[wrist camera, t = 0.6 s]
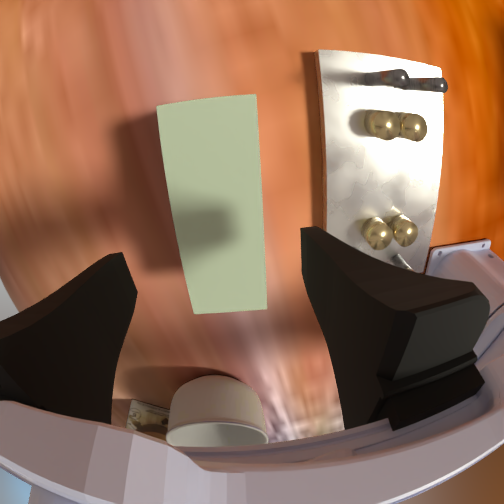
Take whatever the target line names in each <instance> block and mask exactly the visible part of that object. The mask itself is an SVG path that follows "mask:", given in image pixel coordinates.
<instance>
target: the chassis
mask: <svg viewBox="0 0 504 504" xmlns="http://www.w3.org/2000/svg"><path fill="white" fill-rule="evenodd" d="M314 56H315V65H316V74H317V85H318V97H319V110H320V125H321V144H322V172H323V230H324V231H326V232H328V233H329V234H331V235H333V236H334V237H336V238H338V239H339V240H341V241H343V242H345V243H346V244H348V245H350V246H352V247H354V248H355V249H357V250H359V251H361V252H363V253H365V254H367V255H369V256H372V257H374V258H376V259H379V260H381V261H384V262H386V263H389V264H391V265H394V266H397V267H400V268H403V269H407V270H410V271H413V272H417V273H421V272H423V271H424V267H425V263H426V259H427V254H428V250H429V245H430V240H431V235H432V230H433V224H434V219H435V213H436V206H437V199H438V191H439V183H440V173H441V161H442V144H443V93H445V92H446V91H447V89H448V85H447V82H446V80H445V79H444V78H442V76H441V68H438V67H434V66H430V65H426V64H422V63H418V62H414V61H409V60H404V59H399V58H393V57H388V56H381V55H374V54H367V53H358V52H348V51H336V50H317V51H315V52H314Z"/></svg>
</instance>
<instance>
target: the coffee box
mask: <svg viewBox="0 0 504 504" xmlns="http://www.w3.org/2000/svg"><path fill="white" fill-rule="evenodd" d="M169 413H170V410H167V409H164V408H160V407H156V406H153V405H150V404H146V403H143V402H140V401H137V400H134V399H132V401H131V405H130V410H129V414H128V418H127V423H126V427H125V428H127V429H131V430H135V431H138V432H141V433H143V434H146V435H149V436H152V437H155V438H158V439H161V440H164V441H166V433H167V431H168V421H169ZM166 442H167V441H166Z"/></svg>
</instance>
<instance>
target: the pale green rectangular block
mask: <svg viewBox="0 0 504 504" xmlns="http://www.w3.org/2000/svg"><path fill="white" fill-rule="evenodd" d="M156 108H157V117H158V125H159V134H160V141H161V149H162V156H163V163H164V169H165V176H166V182H167V188H168V194H169V200H170V206H171V211H172V216H173V222H174V227H175V232H176V237H177V242H178V247H179V252H180V256H181V261H182V266H183V270H184V274H185V279H186V283H187V287H188V292H189V296H190V300H191V304H192V308H193V312H194V314H206V313H223V312H237V311H250V310H263V309H267V291H266V267H265V245H264V224H263V204H262V184H261V166H260V149H259V132H258V115H257V100H256V94H250V95H235V96H223V97H214V98H205V99H197V100H190V101H183V102H177V103H171V104H165V105H160V106H156Z"/></svg>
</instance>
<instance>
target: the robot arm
mask: <svg viewBox="0 0 504 504" xmlns="http://www.w3.org/2000/svg"><path fill="white" fill-rule="evenodd" d="M300 230H301V259H302V275H303V279H304V283H305V287H306V291H307V294H308V297H309V299H310V302H311V304H312V307H313V309H314V312H315V314H316V317H317V319H318V322H319V324H320V327H321V329H322V332H323V334H324V337H325V340H326V343H327V346H328V350H329V354H330V358H331V362H332V366H333V370H334V374H335V379H336V383H337V388H338V393H339V398H340V404H341V409H342V415H343V421H344V428H345V430H343V431H339V432H334V433H330V434H325V435H320V436H315V437H309V438H304V439H297V440H291V441H284V442H276V443H267V444H257V445H244V446H223V447H185V446H172V445H171V444H169V443H167V442H166V441H164V440H161V439H158V438H155V437H152V436H149V435H146V434H143V433H141V432H138V431H135V430H131V429H127V428H122V427H118V426H114V425H111V409H112V395H113V385H114V378H115V372H116V366H117V362H118V358H119V354H120V351H121V348H122V345H123V342H124V339H125V336H126V333H127V330H128V327H129V324H130V321H131V319H132V316H133V313H134V308H135V304H136V298H137V293H138V292H137V289H136V287H135V284H134V282H133V279H132V277H131V274H130V271H129V269H128V266H127V264H126V261H125V258H124V255H123V253H122V252H120V253H113V254H109V255H107V256H105V257H103V258H102V259H100V260H98V261H97V262H95V263H94V264H93V265H91V266H90V267H88V268H87V269H86V270H84V271H83V272H82V273H80V274H79V275H78V276H76V277H75V278H73V279H72V280H71V281H69V282H68V283H66V284H65V285H64V286H62V287H61V288H60V289H58V290H57V291H55V292H54V293H52V294H51V295H49V296H48V297H46V298H45V299H43V300H41V301H40V302H38V303H36V304H35V305H33V306H31V307H29V308H27V309H25V310H23V311H22V312H20V313H18V314H16V315H14V316H11V317H9V318H7V319H5V320H2V321H0V467H1V468H2V469H4V470H5V471H7V472H9V473H10V474H12V475H14V476H15V477H17V478H19V479H21V480H22V481H24V482H26V483H28V484H30V485H32V487H31V492H30V497H29V503H28V504H397V503H399V502H402V501H404V500H407V499H409V498H411V497H414V496H416V495H418V494H420V493H422V492H425V491H427V490H429V489H431V488H433V487H435V486H437V485H439V484H441V483H443V482H445V481H446V480H448V479H450V478H452V477H454V476H455V475H457V474H459V473H461V472H462V471H464V470H466V469H467V468H469V467H470V466H472V465H473V464H475V463H476V462H478V461H480V460H481V459H483V458H484V457H486V456H487V455H488V454H490V453H491V452H493V451H494V450H496V449H497V448H498V447H499V446H501V445H502V444H503V443H504V261H503V260H501V259H500V258H499V257H498V256H497V255H496V254H495V253H493V252H492V251H491V250H490V249H489V248H490V245H491V241H490V240H489V239H486V240H480V241H474V242H467V243H461V244H455V245H449V246H442V247H436V248H433V249H432V250H431V253H430V257H429V261H428V265H427V269H426V273H425V274H421V273H417V272H413V271H410V270H407V269H403V268H400V267H397V266H394V265H391V264H389V263H386V262H384V261H381V260H379V259H376V258H374V257H372V256H369V255H367V254H365V253H363V252H361V251H359V250H357V249H355V248H354V247H352V246H350V245H348V244H346V243H345V242H343V241H341V240H339V239H338V238H336V237H334V236H333V235H331V234H329V233H328V232H326V231H324V230H323V229H321V228H319V227H317V226H314V227H305V228H300ZM438 252H439V253H438Z"/></svg>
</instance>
